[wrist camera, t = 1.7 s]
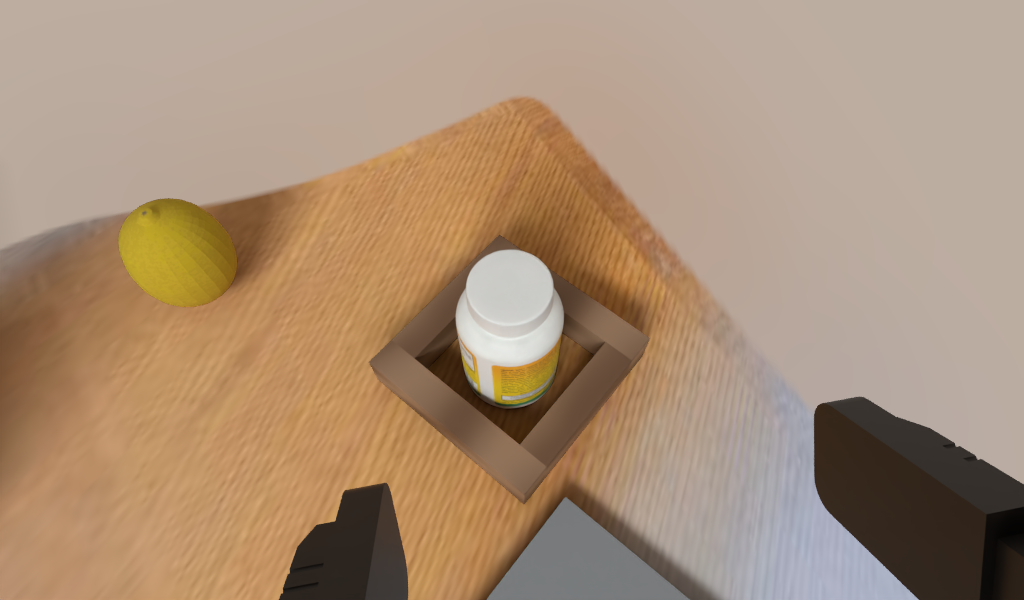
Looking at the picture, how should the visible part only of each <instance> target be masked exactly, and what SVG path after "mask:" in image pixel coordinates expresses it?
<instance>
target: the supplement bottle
mask: <svg viewBox="0 0 1024 600" xmlns="http://www.w3.org/2000/svg"><path fill="white" fill-rule="evenodd" d="M563 324H564V311H563V306H562V302H561V299H560V297H559V295H558V293H557V291H556V290H555V289H554V284H553V279H552V276H551V273H550V271H549V270H548V268H547V267H546V265H545V264H544V263H543V262H542V261H541V260H540V259H538V258H537V257H535V256H534V255H532V254H530V253H527V252H524V251H520V250H500V251H496V252H493V253H491V254H489V255H487V256H485V257H483V258H482V259H481V260H480V261H478V262H477V263H476V264H475V265H474V267H473V268H472V270H471V271H470V273H469V275H468V278H467V283H466V288H465V290H464V291H463V293H462V295H461V297H460V299H459V301H458V304H457V309H456V327H457V334H458V339H459V344H460V350H461V356H462V361H463V366H464V371H465V375H466V379H467V381H468V383H469V386H470V387H471V389H472V390H473V392H474V393H475V394H476V395H477V396H478V397H479V398H481V399H482V400H483V401H485V402H486V403H488V404H490V405H493V406H496V407H499V408H505V409H509V408H518V407H523V406H527V405H529V404H532V403H534V402H535V401H537V400H538V399H540V398H541V397H542V396H543V395H544V394H545V393H546V392H547V391H548V389H549V388H550V386H551V385H552V383H553V381H554V378H555V374H556V369H557V363H558V357H559V350H560V344H561V337H562V331H563Z"/></svg>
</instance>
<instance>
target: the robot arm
mask: <svg viewBox="0 0 1024 600" xmlns="http://www.w3.org/2000/svg"><path fill="white" fill-rule="evenodd" d="M814 476H815V485H816V489H817V492H818V495H819V497H820V499H821V501H822V503H823V505H824V506H825V508H826V509H827V510H828V512H829V513H830V514H831V515H832V516H833V517H834V518H835V519H836V520H837V521H838V522H839V523H841V524H842V525H843V526H844V527H845V528H846V529H847V530H848V531H849V532H850V533H851V534H852V535H853V536H854V537H855V538H856V539H857V540H858V541H859V542H860V543H861V544H862V545H863V546H864V547H865V548H866V549H867V550H868V551H869V552H870V553H871V554H872V555H873V556H874V557H875V558H877V559H878V560H879V561H880V562H881V563H882V564H883V565H884V566H885V567H886V568H887V569H888V570H889V571H890V572H891V573H892V574H893V575H894V576H895V577H896V578H897V579H898V580H899V581H900V582H901V583H902V584H903V585H904V586H905V587H906V588H907V589H908V590H909V591H910V592H912V593H913V594H914V595H915V596H916V597H917V598H918V599H919V600H1024V484H1022V483H1020V482H1019V481H1017V480H1015V479H1014V478H1012V477H1010V476H1009V475H1007V474H1005V473H1004V472H1002V471H1000V470H999V469H997V468H995V467H994V466H992V465H990V464H989V463H987V462H985V461H984V460H982V459H980V460H977V458H976V456H975V455H974V454H972V453H970V452H968V451H967V450H965V449H964V448H962V447H960V446H959V447H956V446H955V443H954V442H952V441H950V440H949V439H947V438H945V437H943V436H942V435H940V434H939V433H937V432H935V431H934V430H932V429H930V428H927V427H925V426H922V425H919V424H916V423H913V422H910V421H907V420H904V419H901V418H898V417H895V416H894V415H892V414H890V413H889V412H887V411H885V410H884V409H882V408H881V407H879V406H877V405H876V404H874V403H872V402H871V401H869V400H868V399H866V398H864V397H854V398H849V399H844V400H838V401H833V402H827V403H822V404H820V405H818V406H817V408H816V410H815V414H814ZM279 600H408V576H407V567H406V560H405V555H404V550H403V546H402V541H401V537H400V532H399V528H398V523H397V519H396V514H395V510H394V505H393V501H392V496H391V492H390V489H389V486H388V484H387V483H382V484H377V485H371V486H366V487H361V488H355V489H350V490H345V491H344V493H343V496H342V499H341V503H340V507H339V510H338V514H337V517H336V521H335V522H330V523H324V524H319V525H316V526H315V527H314V529H313V530H312V531H311V532H310V533H309V534H308V535H307V537H306V538H305V539H304V540H303V541H302V542H301V543H300V545H299V546H298V547H297V550H296V553H295V556H294V559H293V561H292V564H291V567H290V574H288V576H287V579H286V581H285V584H284V587H283V594H281V596H280V599H279Z"/></svg>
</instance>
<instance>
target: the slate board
mask: <svg viewBox="0 0 1024 600" xmlns="http://www.w3.org/2000/svg"><path fill="white" fill-rule="evenodd" d="M486 600H690V599H688V598H687V597H686V596H685V595H684V594H682V593H681V592H680V591H679V590H678V589H676V588H675V587H674V586H673V585H672V584H670V583H669V582H668V581H667V580H665V579H664V578H663V577H662V576H661V575H659V574H658V573H657V572H656V571H655V570H653V569H652V568H651V567H650V566H649V565H647V564H646V563H645V562H644V561H643V560H641V559H640V558H639V557H638V556H637V555H635V554H634V553H633V552H632V551H630V550H629V549H628V548H627V547H626V546H624V545H623V544H622V543H621V542H620V541H618V540H617V539H616V538H615V537H614V536H612V535H611V534H610V533H609V532H608V531H606V530H605V529H604V528H603V527H601V526H600V525H599V524H598V523H597V522H595V521H594V520H593V519H592V518H591V517H589V516H588V515H587V514H586V513H585V512H583V511H582V510H581V509H580V508H579V507H577V506H576V505H575V504H574V503H573V502H571V501H570V500H569V499H568V498H566V497H565V498H564V499H563V501H562V502H561V503H560V505H559V506H558V507H557V508H556V510H555V511H554V512H553V514H552V515H551V516H550V518H549V519H548V520H547V521H546V523H545V524H544V525H543V527H542V528H541V529H540V531H539V532H538V533H537V534H536V536H535V537H534V538H533V540H532V541H531V542H530V544H529V545H528V546H527V547H526V549H525V550H524V551H523V553H522V554H521V555H520V557H519V558H518V559H517V560H516V562H515V563H514V564H513V566H512V567H511V568H510V569H509V571H508V572H507V573H506V575H505V576H504V577H503V579H502V580H501V581H500V582H499V584H498V585H497V586H496V588H495V589H494V590H493V592H492V593H491V594H490V595H489V597H488V598H487V599H486Z"/></svg>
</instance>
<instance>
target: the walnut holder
mask: <svg viewBox="0 0 1024 600" xmlns="http://www.w3.org/2000/svg"><path fill="white" fill-rule="evenodd" d="M500 250H520V251H522V250H521V249H519V248H518V247H517V246H515V245H514V244H512V243H511V242H509V241H508V240H506V239H505V238H503V237H502V236H501V235H499V236H498V237H497V238H495V239H494V240H493V241H492V242H491V243H490V244H489V245H488V246H487V247H486V248H485V249H484V250H483V251H482V252H481V253H480V254H479V255H478V256H477V257H476V258H475V259H474V260H473V261H472V262H471V263H470V264H469V265H468V266H467V267H466V268H465V269H464V270H463V271H462V272H461V273H460V274H459V275H458V276H457V277H456V278H455V279H454V280H453V281H452V282H450V283H449V284H448V285H447V286H446V287H445V288H444V289H443V290H442V291H441V292H440V293H439V294H438V295H437V296H436V297H435V298H434V299H433V300H432V301H431V302H430V303H429V304H428V305H427V306H426V307H425V308H424V309H423V310H422V311H421V312H420V313H419V314H418V315H417V316H416V317H415V318H414V319H413V320H412V321H411V322H410V323H409V324H408V325H406V326H405V327H404V328H403V329H402V330H401V331H400V332H399V333H398V334H397V335H396V336H395V337H394V338H393V339H392V340H391V341H390V342H389V343H388V344H387V345H386V346H385V347H384V348H383V349H382V350H381V351H380V352H379V353H378V354H377V355H376V356H375V357H374V358H373V359H372V360H371V361H370V362H369V363H370V365H371V367H372V369H373V371H374V373H375V375H376V376H377V378H378V380H379V381H381V382H382V383H383V384H384V385H385V386H386V387H388V388H389V389H390V390H391V391H392V392H393V393H395V394H396V395H397V396H398V397H399V398H400V399H402V400H403V401H404V402H405V403H406V404H407V405H409V406H410V407H411V408H412V409H413V410H414V411H416V412H417V413H418V414H419V415H420V416H421V417H423V418H424V419H425V420H426V421H427V422H428V423H430V424H431V425H432V426H433V427H434V428H435V429H437V430H438V431H439V432H440V433H441V434H442V435H444V436H445V437H446V438H447V439H448V440H450V441H451V442H452V443H453V444H454V445H455V446H457V447H458V448H459V449H460V450H461V451H462V452H464V453H465V454H466V455H467V456H468V457H469V458H471V459H472V460H473V461H474V462H475V463H476V464H478V465H479V466H480V467H481V468H482V469H483V470H485V471H486V472H487V473H488V474H489V475H490V476H492V477H493V478H494V479H495V480H496V481H497V482H499V483H500V484H501V485H502V486H503V487H504V488H506V489H507V490H508V491H509V492H510V493H511V494H513V495H514V496H515V497H516V498H517V499H518V500H520V501H521V502H522V503H523V504H525V503H526V502H527V500H528V499H529V498H530V496H531V495H532V494H533V493H534V491H535V490H536V489H537V488H538V486H539V485H540V484H541V483H542V481H543V480H544V479H545V478H546V476H547V475H548V474H549V473H550V471H551V470H552V469H553V468H554V466H555V465H556V464H557V463H558V461H559V460H560V459H561V458H562V456H563V455H564V454H565V453H566V451H567V450H568V449H569V448H570V446H571V445H572V444H573V442H574V441H575V440H576V439H577V437H578V436H579V435H580V434H581V432H582V431H583V430H584V429H585V427H586V426H587V425H588V424H589V422H590V421H591V420H592V419H593V417H594V416H595V415H596V414H597V412H598V411H599V410H600V409H601V407H602V406H603V405H604V404H605V402H606V401H607V400H608V399H609V397H610V396H611V395H612V394H613V392H614V391H615V390H616V388H617V387H618V386H619V385H620V383H621V382H622V381H623V380H624V378H625V377H626V376H627V375H628V373H629V372H630V371H631V370H632V368H633V367H634V366H635V365H636V363H637V362H638V361H639V360H640V358H641V357H642V355H643V353H644V351H645V348H646V346H647V344H648V341H649V339H650V338H649V337H648V336H646V335H645V334H643V333H642V332H640V331H639V330H638V329H636V328H635V327H633V326H632V325H630V324H629V323H627V322H626V321H624V320H623V319H621V318H620V317H619V316H617V315H616V314H614V313H613V312H611V311H610V310H608V309H607V308H605V307H604V306H603V305H601V304H600V303H598V302H597V301H595V300H594V299H592V298H591V297H589V296H588V295H587V294H585V293H584V292H582V291H581V290H579V289H578V288H576V287H575V286H573V285H572V284H570V283H569V282H568V281H566V280H565V279H563V278H562V277H560V276H559V275H557V274H556V273H554V272H553V271H552V270H550V269H549V268H548V270H549V271H550V273H551V276H552V279H553V284H554V289H555V290H556V291H557V293H558V295H559V297H560V299H561V302H562V306H563V311H564V324H563V331H562V332H563V333H564V334H565V335H567V336H568V337H570V338H571V339H572V340H574V341H575V342H576V343H578V344H579V345H581V346H582V347H583V348H585V349H586V350H588V351H589V352H590V353H592V354H593V355H594V357H593V358H592V359H591V360H590V361H589V363H588V364H587V365H586V366H585V367H584V369H583V370H582V371H581V372H580V373H579V374H578V376H577V377H576V378H575V379H574V380H573V382H572V383H571V384H570V385H569V386H568V388H567V389H566V390H565V391H564V392H563V394H562V395H561V396H560V397H559V398H558V400H557V401H556V402H555V403H554V404H553V406H552V407H551V408H550V409H549V410H548V412H547V413H546V414H545V415H544V416H543V417H542V419H541V420H540V421H539V422H538V423H537V425H536V426H535V427H534V428H533V429H532V431H531V432H530V433H529V434H528V435H527V437H526V438H525V439H524V440H523V441H522V443H521V444H520V445H519V444H518V443H517V442H516V441H515V440H513V439H512V438H511V437H510V436H508V435H507V434H506V433H505V432H504V431H502V430H501V429H500V428H499V427H497V426H496V425H495V424H494V423H493V422H491V421H490V420H489V419H488V418H486V417H485V416H484V415H483V414H482V413H480V412H479V411H478V410H477V409H475V408H474V407H473V406H472V405H471V404H469V403H468V402H467V401H466V400H464V399H463V398H462V397H461V396H460V395H458V394H457V393H456V392H455V391H453V390H452V389H451V388H450V387H449V386H447V385H446V384H445V383H444V382H442V381H441V380H440V379H439V378H438V377H436V376H435V375H434V374H433V373H432V372H430V371H429V370H428V368H429V366H430V365H431V364H432V363H433V362H434V361H435V360H436V359H437V358H438V357H439V356H440V355H441V354H442V353H443V352H444V351H445V350H446V349H447V348H448V347H449V346H450V345H451V344H452V343H453V342H454V341H455V340H456V339H457V338H458V334H457V327H456V309H457V304H458V301H459V299H460V297H461V295H462V293H463V291H464V290H465V288H466V283H467V278H468V275H469V273H470V271H471V270H472V268H473V267H474V265H475V264H476V263H477V262H478V261H480V260H481V259H482V258H483V257H485V256H487V255H489V254H491V253H493V252H496V251H500Z"/></svg>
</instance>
